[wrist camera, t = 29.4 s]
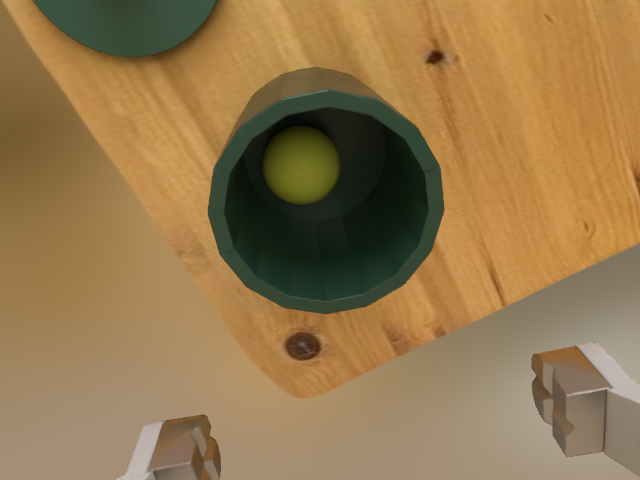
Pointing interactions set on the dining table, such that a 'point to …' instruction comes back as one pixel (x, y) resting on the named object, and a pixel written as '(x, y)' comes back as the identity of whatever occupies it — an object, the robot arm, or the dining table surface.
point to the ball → (301, 165)
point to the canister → (327, 197)
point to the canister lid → (128, 23)
